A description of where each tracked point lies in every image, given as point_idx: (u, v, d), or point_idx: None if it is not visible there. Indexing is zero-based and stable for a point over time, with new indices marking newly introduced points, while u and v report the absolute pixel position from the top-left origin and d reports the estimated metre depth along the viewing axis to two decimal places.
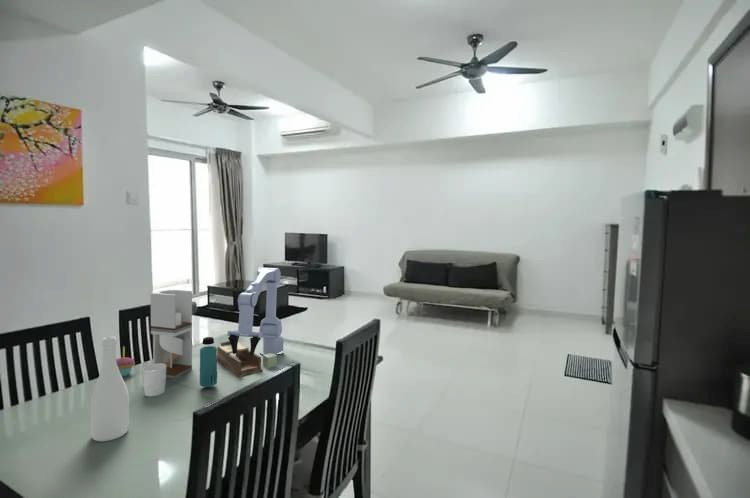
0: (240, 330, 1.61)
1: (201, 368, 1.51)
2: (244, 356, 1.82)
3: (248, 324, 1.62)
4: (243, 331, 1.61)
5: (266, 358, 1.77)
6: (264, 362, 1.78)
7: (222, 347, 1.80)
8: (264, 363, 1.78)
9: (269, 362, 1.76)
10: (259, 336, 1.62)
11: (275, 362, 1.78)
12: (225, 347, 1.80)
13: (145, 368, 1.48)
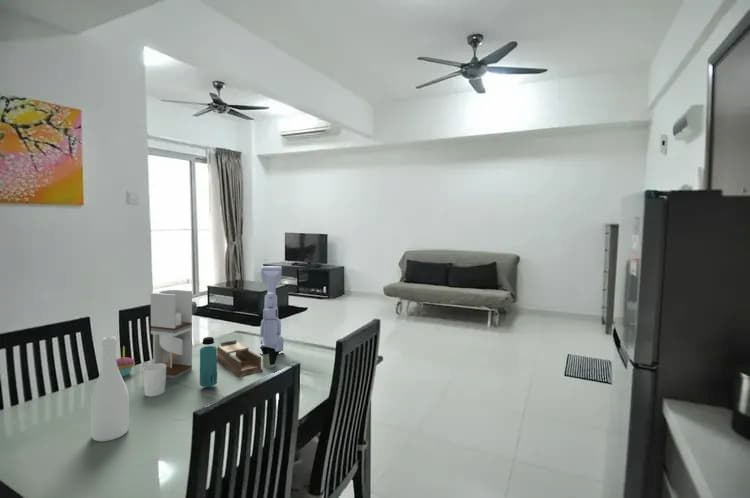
0: (263, 342, 1.77)
1: (201, 368, 1.51)
2: (244, 356, 1.82)
3: (268, 337, 1.75)
4: (265, 343, 1.76)
5: (266, 358, 1.77)
6: (264, 362, 1.78)
7: (222, 347, 1.80)
8: (264, 363, 1.78)
9: (269, 362, 1.76)
10: (275, 350, 1.73)
11: (275, 362, 1.78)
12: (225, 347, 1.80)
13: (145, 368, 1.48)
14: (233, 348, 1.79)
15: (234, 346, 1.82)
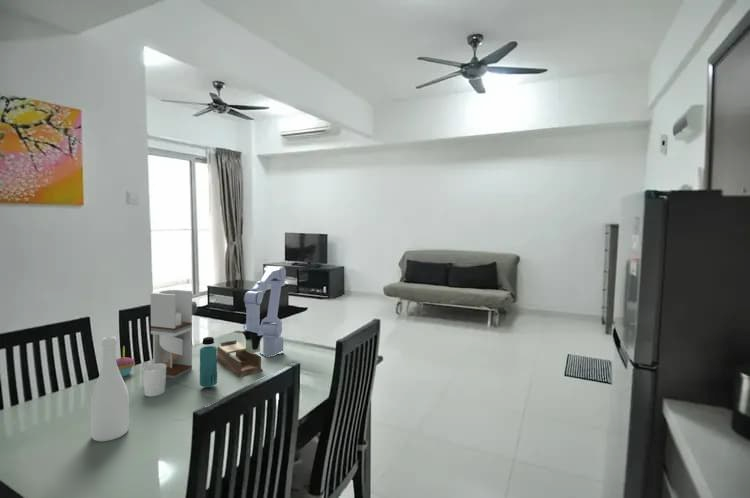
0: (246, 326, 1.72)
1: (201, 368, 1.51)
2: (244, 356, 1.82)
3: (251, 321, 1.71)
4: (247, 327, 1.71)
5: (249, 343, 1.72)
6: (247, 347, 1.73)
7: (222, 347, 1.80)
8: (247, 348, 1.73)
9: None
10: (258, 334, 1.68)
11: (258, 347, 1.74)
12: (225, 347, 1.80)
13: (145, 368, 1.48)
14: (233, 348, 1.79)
15: (234, 346, 1.82)
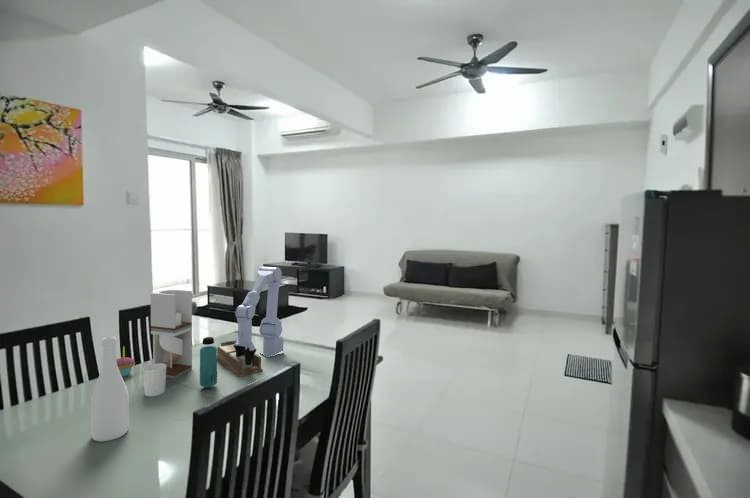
0: (238, 340, 1.71)
1: (201, 368, 1.51)
2: None
3: (243, 336, 1.69)
4: (239, 342, 1.70)
5: (241, 360, 1.71)
6: None
7: (222, 347, 1.80)
8: None
9: (244, 364, 1.71)
10: (249, 349, 1.67)
11: None
12: (225, 347, 1.80)
13: (145, 368, 1.48)
14: (233, 348, 1.79)
15: None
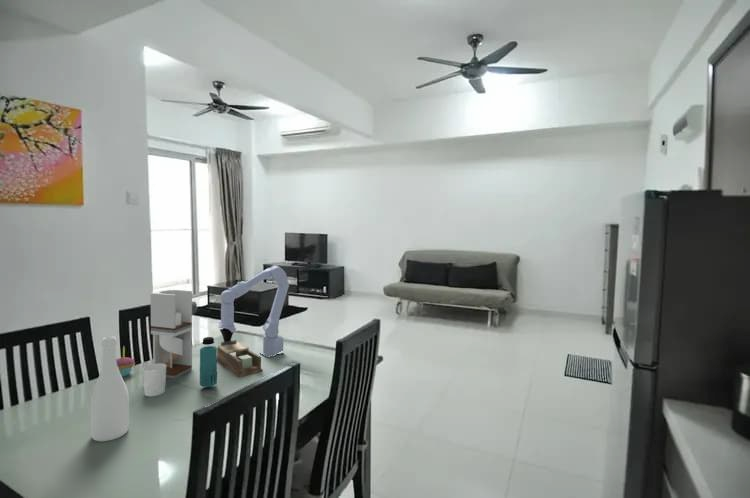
0: (221, 323, 1.84)
1: (201, 368, 1.51)
2: None
3: (225, 319, 1.83)
4: (222, 325, 1.83)
5: (241, 360, 1.71)
6: None
7: (222, 347, 1.80)
8: None
9: (244, 364, 1.71)
10: (231, 331, 1.80)
11: (250, 364, 1.73)
12: (225, 347, 1.80)
13: (145, 368, 1.48)
14: (233, 348, 1.79)
15: (234, 346, 1.82)
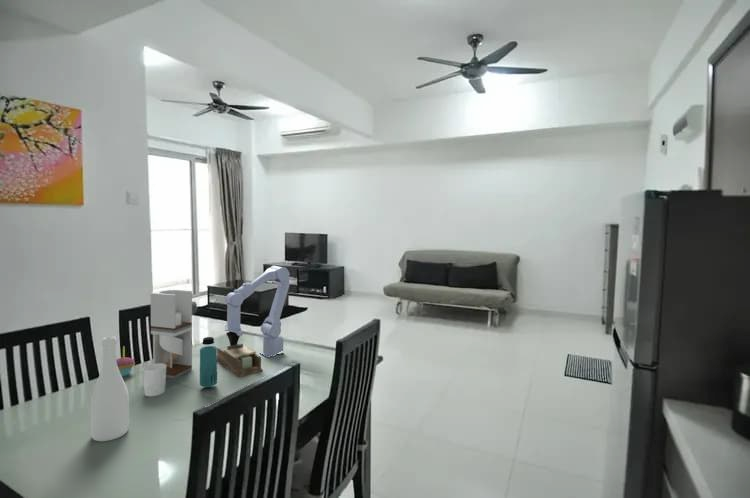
0: (227, 326, 1.79)
1: (201, 368, 1.51)
2: None
3: (231, 322, 1.77)
4: (228, 328, 1.78)
5: (241, 360, 1.71)
6: None
7: (228, 351, 1.75)
8: None
9: (244, 364, 1.71)
10: (238, 334, 1.75)
11: (250, 364, 1.73)
12: (232, 351, 1.75)
13: (145, 368, 1.48)
14: (240, 352, 1.74)
15: (241, 349, 1.77)
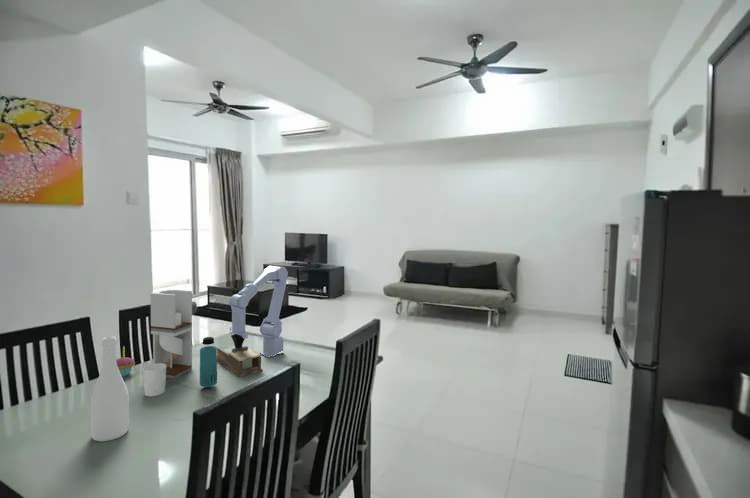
0: (232, 329, 1.75)
1: (201, 368, 1.51)
2: None
3: (236, 324, 1.74)
4: (233, 330, 1.74)
5: None
6: None
7: (233, 354, 1.71)
8: None
9: (244, 364, 1.71)
10: (243, 337, 1.71)
11: (250, 364, 1.73)
12: (236, 354, 1.71)
13: (145, 368, 1.48)
14: (245, 355, 1.70)
15: (246, 352, 1.74)
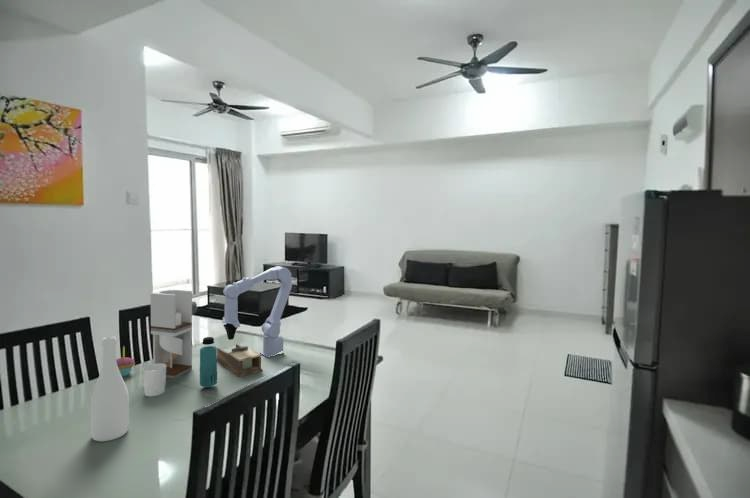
0: (224, 318, 1.81)
1: (201, 368, 1.51)
2: None
3: (229, 314, 1.79)
4: (225, 320, 1.80)
5: None
6: None
7: (233, 354, 1.71)
8: None
9: (244, 364, 1.71)
10: (235, 326, 1.77)
11: (250, 364, 1.73)
12: (236, 354, 1.71)
13: (145, 368, 1.48)
14: (245, 355, 1.70)
15: (246, 352, 1.74)
